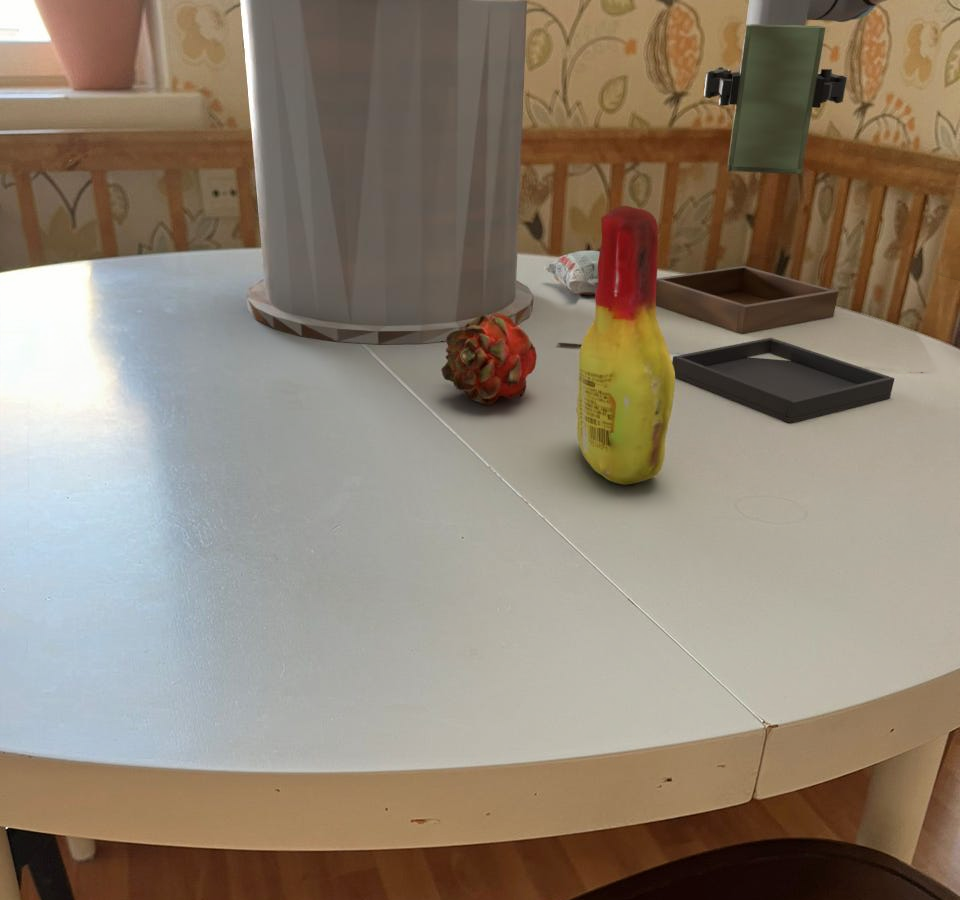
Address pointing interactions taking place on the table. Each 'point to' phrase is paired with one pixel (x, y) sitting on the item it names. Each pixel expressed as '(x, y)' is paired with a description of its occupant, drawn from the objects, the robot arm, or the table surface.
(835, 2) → the robot arm
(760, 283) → the brown wooden tray
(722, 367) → the tray
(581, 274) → the packaged food
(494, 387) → the dragon fruit
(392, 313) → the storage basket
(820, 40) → the tall basket
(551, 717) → the table surface
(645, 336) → the bottle
